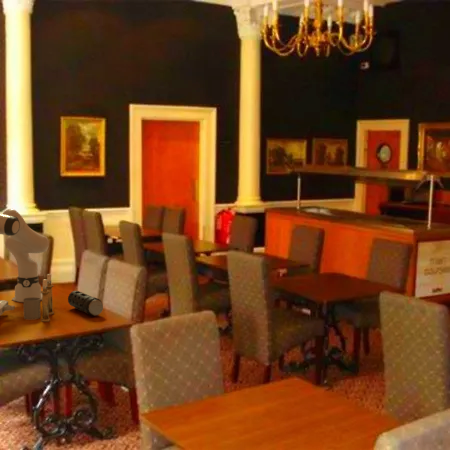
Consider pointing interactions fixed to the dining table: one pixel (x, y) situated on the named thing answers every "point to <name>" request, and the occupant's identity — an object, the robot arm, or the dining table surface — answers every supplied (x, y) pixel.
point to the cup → (31, 308)
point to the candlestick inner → (49, 294)
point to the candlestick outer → (45, 302)
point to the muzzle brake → (85, 303)
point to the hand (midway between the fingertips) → (14, 307)
